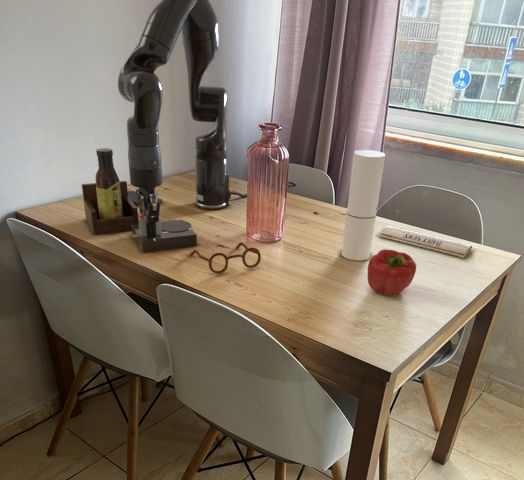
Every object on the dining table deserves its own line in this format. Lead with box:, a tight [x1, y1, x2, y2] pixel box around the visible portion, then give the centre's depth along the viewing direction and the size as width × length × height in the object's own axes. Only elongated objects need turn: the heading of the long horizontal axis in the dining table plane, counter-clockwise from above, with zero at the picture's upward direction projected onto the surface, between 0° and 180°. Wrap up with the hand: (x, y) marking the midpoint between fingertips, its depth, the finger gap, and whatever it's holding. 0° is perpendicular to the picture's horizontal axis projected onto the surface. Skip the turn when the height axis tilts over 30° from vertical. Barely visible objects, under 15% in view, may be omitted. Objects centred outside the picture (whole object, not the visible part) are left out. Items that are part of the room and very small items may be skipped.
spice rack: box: [81, 180, 139, 235], centre depth 148 cm, size 12×12×10 cm
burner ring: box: [160, 219, 192, 232], centre depth 143 cm, size 9×9×1 cm
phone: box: [127, 190, 163, 206], centre depth 169 cm, size 7×1×15 cm
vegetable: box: [367, 248, 417, 297], centre depth 119 cm, size 11×10×10 cm
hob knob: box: [138, 215, 161, 237], centre depth 136 cm, size 5×2×5 cm, turn 115°
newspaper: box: [378, 225, 473, 258], centre depth 148 cm, size 24×7×2 cm, turn 56°
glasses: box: [189, 241, 262, 275], centre depth 131 cm, size 13×13×5 cm
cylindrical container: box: [341, 149, 386, 261], centre depth 133 cm, size 7×7×25 cm
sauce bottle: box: [95, 147, 123, 219], centre depth 145 cm, size 6×6×20 cm
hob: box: [130, 221, 198, 253], centre depth 141 cm, size 16×13×3 cm
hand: (150, 234), depth 137 cm, fingers closed
